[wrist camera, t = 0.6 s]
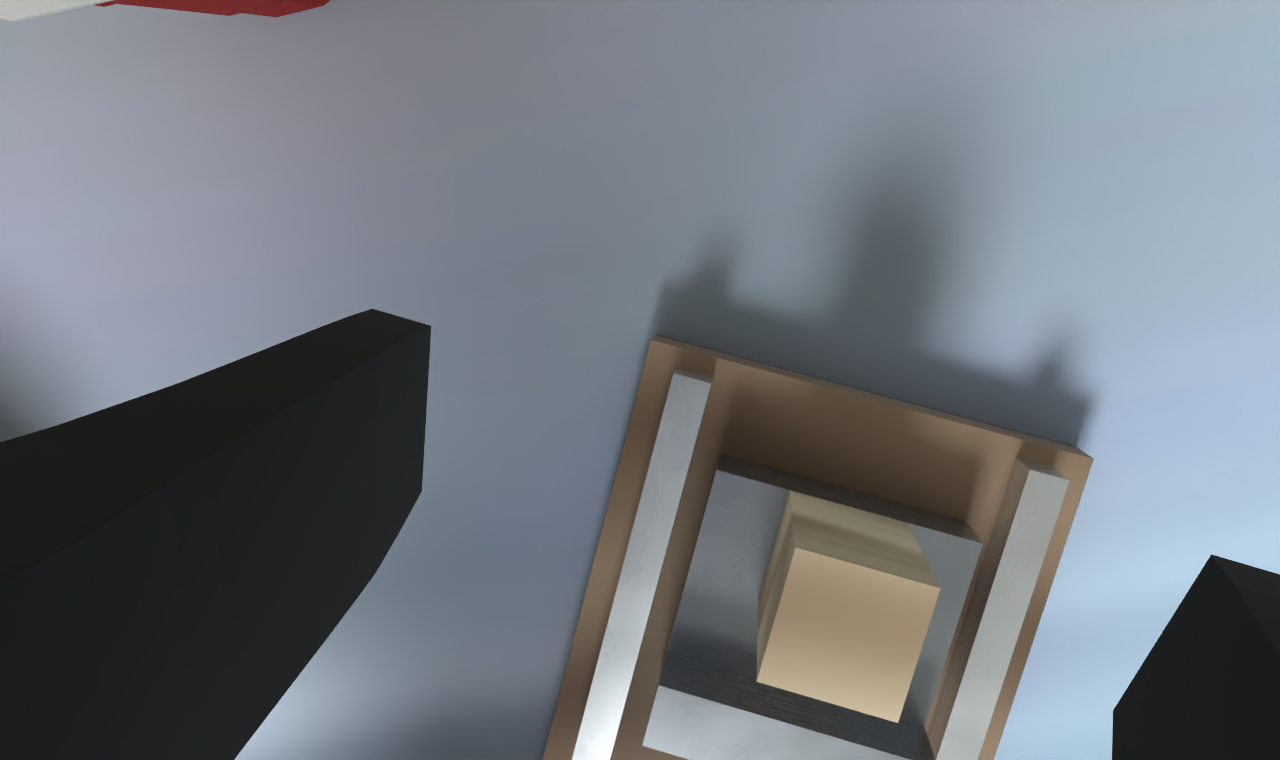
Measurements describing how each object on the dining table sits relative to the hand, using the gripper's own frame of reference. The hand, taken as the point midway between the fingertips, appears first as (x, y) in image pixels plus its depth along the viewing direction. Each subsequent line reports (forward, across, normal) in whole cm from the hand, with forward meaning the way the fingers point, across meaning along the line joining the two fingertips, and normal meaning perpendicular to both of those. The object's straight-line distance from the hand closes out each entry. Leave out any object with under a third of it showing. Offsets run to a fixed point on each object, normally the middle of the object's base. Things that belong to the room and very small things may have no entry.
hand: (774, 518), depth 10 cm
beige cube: (+15, -2, +13) cm, 20 cm away
